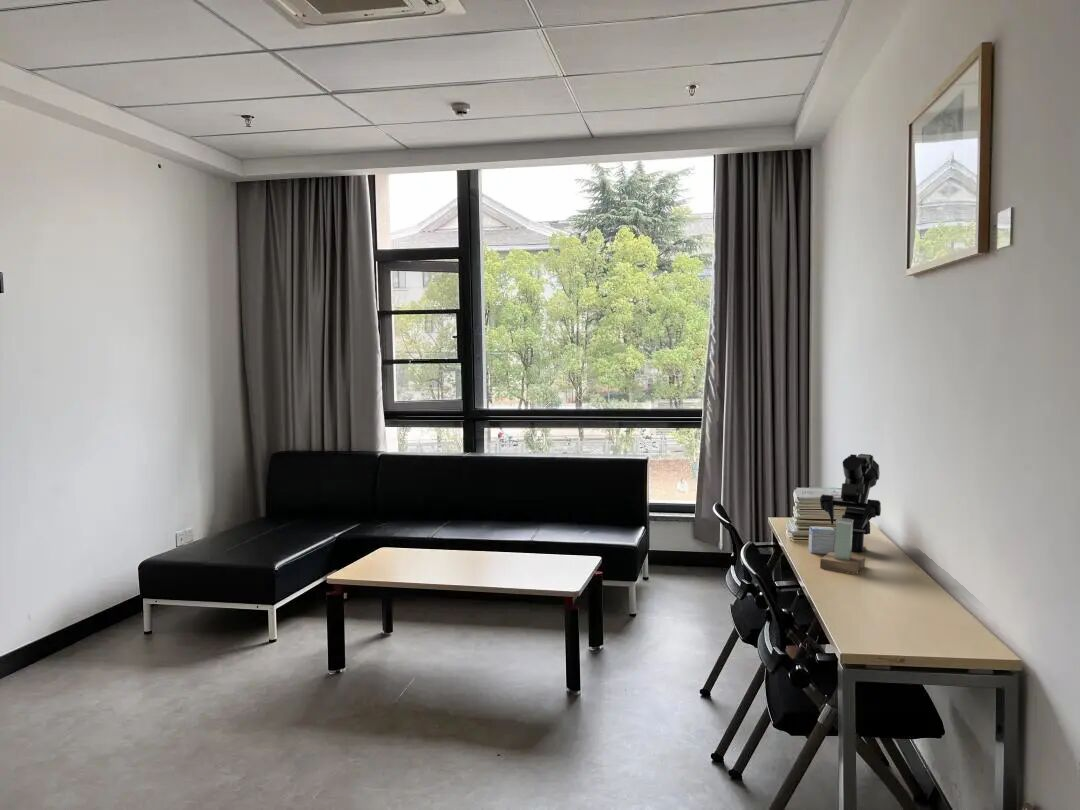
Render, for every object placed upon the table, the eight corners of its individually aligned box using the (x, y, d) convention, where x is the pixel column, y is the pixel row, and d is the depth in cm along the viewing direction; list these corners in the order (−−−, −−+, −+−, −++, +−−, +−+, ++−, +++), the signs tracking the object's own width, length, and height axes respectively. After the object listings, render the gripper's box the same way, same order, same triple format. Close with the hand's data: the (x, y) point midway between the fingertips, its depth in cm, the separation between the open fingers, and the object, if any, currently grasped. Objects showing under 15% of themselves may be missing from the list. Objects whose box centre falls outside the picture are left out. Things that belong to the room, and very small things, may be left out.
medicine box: (831, 551, 271) (832, 526, 270) (834, 554, 266) (835, 530, 266) (807, 550, 272) (809, 525, 271) (811, 553, 267) (812, 529, 266)
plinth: (830, 560, 259) (830, 551, 259) (864, 566, 252) (865, 557, 252) (820, 567, 250) (820, 558, 250) (855, 574, 244) (855, 565, 243)
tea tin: (836, 555, 254) (838, 517, 253) (851, 557, 252) (853, 519, 251) (834, 558, 250) (835, 520, 249) (849, 561, 248) (851, 522, 247)
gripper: (822, 471, 262) (814, 509, 254) (881, 476, 253) (876, 516, 244) (825, 489, 270) (818, 527, 261) (883, 495, 260) (877, 535, 252)
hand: (846, 526), depth 255 cm, fingers open, 9 cm apart
